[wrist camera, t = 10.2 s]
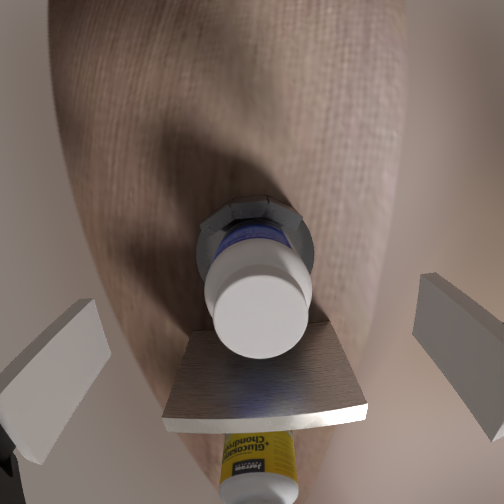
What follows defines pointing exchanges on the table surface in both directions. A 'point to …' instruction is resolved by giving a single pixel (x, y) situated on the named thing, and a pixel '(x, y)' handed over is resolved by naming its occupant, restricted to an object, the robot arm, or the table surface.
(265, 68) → the table surface
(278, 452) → the pill bottle
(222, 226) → the cup bracket
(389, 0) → the table surface
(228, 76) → the table surface
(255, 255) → the pill bottle
